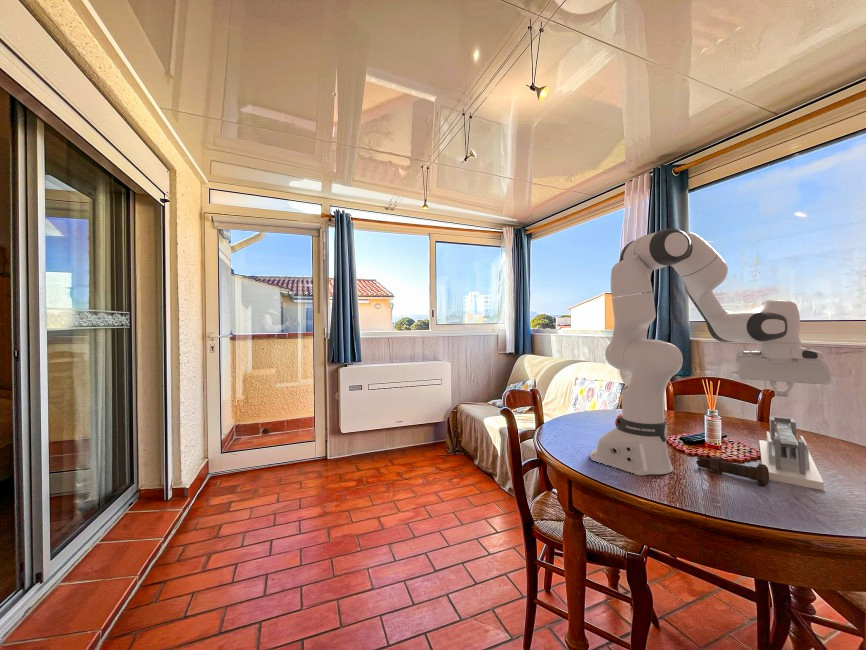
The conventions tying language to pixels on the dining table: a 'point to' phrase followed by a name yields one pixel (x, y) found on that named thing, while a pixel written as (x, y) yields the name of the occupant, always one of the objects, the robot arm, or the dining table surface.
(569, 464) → the dining table surface
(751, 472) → the bolt
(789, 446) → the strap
